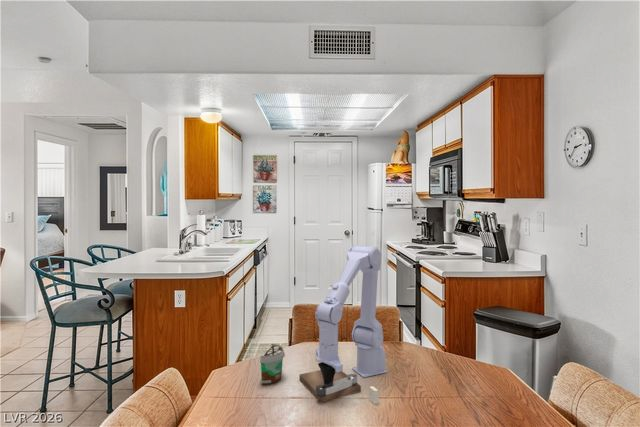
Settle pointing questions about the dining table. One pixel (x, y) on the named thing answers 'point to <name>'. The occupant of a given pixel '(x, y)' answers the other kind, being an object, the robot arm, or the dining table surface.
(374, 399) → the block
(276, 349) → the food container
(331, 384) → the folding leg
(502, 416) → the dining table surface
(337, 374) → the stool seat
